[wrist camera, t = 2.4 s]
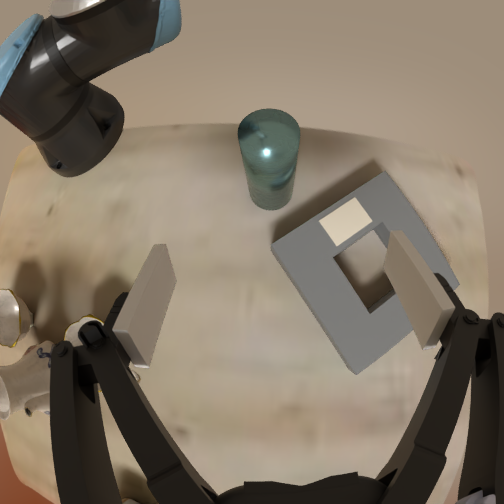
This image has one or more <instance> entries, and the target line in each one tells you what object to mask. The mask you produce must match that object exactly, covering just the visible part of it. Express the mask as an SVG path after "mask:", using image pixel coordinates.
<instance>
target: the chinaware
mask: <svg viewBox="0 0 504 504" xmlns="http://www.w3.org/2000/svg"><path fill="white" fill-rule="evenodd" d="M91 320H97V321H100V322H101V324H102V325H104V322H103V321H101V320H100V319H99V318H97V317H95V316H94V315H91V314H89V315H87V316H83V317H82V318H81V319H80V320H79V321H80V322H79V321H77V322H74V323H72V324H70V325H69V327H68V328H67V329H66V330H65V336H64V341H65V340H67V341H70V342H71V343H72V345H73V346H74V347H75V346H80V345H83V344H82V342H81V341H80V340H79V338H78V331H79V329H80V327H81V326H82V325H83V324H85V323H86V322H88V321H91ZM32 326H34V325H33V313H31V312H30V311H29V310H28V307H27V306H26V304H25V303H24V301H23V300H22V299H20V298H19V297H18V296H16V295H15V293H14V292H13V291H12V290H10V289H0V344H1V345H2V346H8V347H10V348H12V347H15V346H16V344H17V342H18V341H20V340H22V339H23V338H24V337H25V336H26V335H27V333H28V331H29V329H30V328H31V327H32ZM54 346H55V344H54V343H52V342H51V341H45V342H43V343H41V344H38V345H34V346H31V347H29V348H28V349H27V351H26V352H25V354H24V355H23V357H22V358H21V359H20V360H19V361H17V362H16V363H14V364H12V365H8V366H0V419H3V420H6V419H8V417H9V416H10V415H11V414H13V413H14V412H17V411H20V410H25V413H26V414H27V415H28V416H29V417H31V416H32V413H33V412H34V411H40V412H43V413H45V414H47V415H49V416H50V366H51V353H52V349H53V348H54ZM131 371H132V373H133V375H134V376H135V377H136V378H137V380H138V381H137V382H138V384H139V383H140V380H141V379H140V376H139V375H138V374H137V373H136V372H135V371H133V370H131ZM97 384H98V392H101V391H102V390H101V388H100V385H99V383H97Z"/></svg>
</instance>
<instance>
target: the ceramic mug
mask: <svg viewBox="0 0 504 504" xmlns="http://www.w3.org/2000/svg"><path fill="white" fill-rule="evenodd" d="M122 503H123V504H140V503H138V502H136V501H134V500H132V499H129V498H124V499H122Z"/></svg>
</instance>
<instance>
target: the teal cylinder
mask: <svg viewBox="0 0 504 504" xmlns="http://www.w3.org/2000/svg"><path fill="white" fill-rule="evenodd" d="M238 140H239V144H240V149H241V154H242V159H243V163H244V168H245V173H246V178H247V182H248V187H249V192H250V196H251V199H252V201H253V202H254V203H255V204H256V205H257V206H258V207H260V208H262V209H265V210H277V209H280V208H282V207H284V206H285V205H286V204H287V203H288V202H289V201H290V199H291V196H292V191H293V184H294V177H295V170H296V163H297V156H298V148H299V141H300V128H299V125H298V123H297V122H296V120H295V119H294V118H293V117H292V116H290V115H289V114H287V113H286V112H283V111H281V110H277V109H261V110H257V111H255V112H252V113H251V114H249V115H248V116H246V117H245V118H244V119H243V120H242V122H241V123H240V125H239V128H238Z"/></svg>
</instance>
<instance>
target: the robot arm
mask: <svg viewBox="0 0 504 504" xmlns="http://www.w3.org/2000/svg"><path fill="white" fill-rule="evenodd" d="M49 12H50V14H51V16H49V17H48V18H47V19H43V18H44V17H43V16H42V15H39V14H34V15H32V16H31V17H30V18H28V19H27V20H25V21H24V22H23V23H22V24H21V25H20V26H19V27H17V28H16V30H14V31H13V33H12V34H11V35H10V36H9V37H8V38H7V39H6V40H5V41H4V43H3V44H2V45H1V46H0V115H2V116H3V117H4V118H5V119H7V120H8V121H9V122H10V123H12V124H13V125H14V126H15V127H17V128H18V129H19V130H20V131H22V132H23V133H24V134H25V135H27V136H28V137H29V138H31V139H32V140H33V141H34V142H35V143H36V145H37V147H38V149H39V151H40V153H41V154H42V156H43V158H44V160H45V161H46V163H47V165H48V166H49V167H50V168H51V169H52V170H53V171H55V172H56V173H57V174H59V175H61V176H63V177H74V176H78V175H80V174H83V173H85V172H87V171H88V170H90V169H91V168H93V167H94V166H96V165H97V164H98V163H99V162H100V161H101V160H102V159H103V158H104V157H105V156H106V155H107V154H108V153H109V152H110V150H111V149H112V148H113V146H114V145H115V143H116V141H117V140H118V138H119V136H120V134H121V131H122V128H123V125H124V111H123V108H122V106H121V105H120V104H119V102H118V101H117V99H116V98H115V97H114V96H113V95H111V94H109V93H108V92H106V91H104V90H102V89H100V88H98V87H97V86H95V85H93V84H91V83H89V81H91V80H92V79H94V78H96V77H98V76H100V75H101V74H103V73H105V72H107V71H109V70H111V69H113V68H115V67H117V66H119V65H121V64H123V63H125V62H128V61H130V60H132V59H134V58H136V57H139V56H141V55H143V54H146V53H150V52H151V51H153V50H154V49H155V48H158V47H160V46H162V45H164V44H166V43H169V42H171V41H172V40H174V39H175V38H176V37H177V36H178V35H179V32H180V30H181V9H180V2H179V0H52V1H51V3H50V6H49ZM383 269H384V271H385V273H386V275H387V277H388V278H389V280H390V282H391V284H392V286H393V288H394V290H395V292H396V294H397V296H398V298H399V300H400V302H401V304H402V306H403V308H404V310H405V312H406V314H407V316H408V319H409V321H410V323H411V325H412V327H413V329H414V332H415V334H416V336H417V338H418V341H419V343H420V345H421V347H422V350H426V349H430V348H435V347H436V345H437V343H438V341H439V339H440V342H441V344H442V346H441V348H440V350H439V352H438V353H437V355H436V357H435V358H434V359H436V362H435V365H434V367H433V370H432V373H431V375H430V378H429V380H428V383H427V385H426V388H425V390H424V393H423V395H422V397H421V400H420V402H419V404H418V406H417V409H416V411H415V413H414V415H413V417H412V419H411V421H410V423H409V425H408V427H407V429H406V431H405V433H404V435H403V437H402V439H401V441H400V443H399V444H398V446H397V448H396V450H395V452H394V453H393V455H392V457H391V458H390V460H389V462H388V463H387V464H386V466H385V467H384V468H383V469H382V470H381V472H380V473H379V474H378V476H377V477H376V479H373V478H369V477H364V476H358V472H353V473H347V474H342V475H335V476H330V477H327V478H324V479H322V480H319V481H316V482H313V483H310V484H307V485H304V486H298V485H291V484H285V483H279V482H273V481H265V482H244V485H243V486H239V487H235V488H232V489H230V490H228V491H226V492H224V493H222V494H220V495H219V496H218V495H217V493H216V492H215V491H214V490H213V489H212V488H211V487H210V485H209V484H208V483H207V482H206V481H205V480H204V479H203V478H202V477H201V476H200V475H199V473H198V472H197V471H196V470H195V468H194V467H193V466H192V465H191V463H190V462H189V461H188V459H187V458H186V457H185V455H184V454H183V453H182V451H181V450H180V448H179V447H178V446H177V444H176V443H175V441H174V440H173V438H172V437H171V436H170V434H169V433H168V431H167V430H166V428H165V427H164V425H163V424H162V422H161V421H160V419H159V417H158V416H157V414H156V413H155V411H154V409H153V408H152V406H151V405H150V403H149V401H148V400H147V398H146V396H145V395H144V393H143V391H142V389H141V388H140V386H139V384H138V382H137V380H136V379H135V377H134V375H133V373H132V371H131V369H130V368H129V367H128V366H129V363H130V360H131V361H132V363H133V364H134V366H135V367H143V368H149V366H150V363H151V359H152V356H153V353H154V349H155V346H156V343H157V340H158V336H159V333H160V330H161V327H162V324H163V320H164V317H165V314H166V311H167V308H168V305H169V302H170V299H171V296H172V293H173V290H174V287H175V284H176V282H177V280H176V277H175V274H174V270H173V267H172V263H171V260H170V256H169V253H168V249H167V246H166V244H158V245H154V246H153V248H152V250H151V252H150V253H149V255H148V257H147V259H146V261H145V263H144V265H143V267H142V269H141V271H140V272H139V274H138V276H137V278H136V280H135V282H134V284H133V286H132V288H131V290H130V292H123V293H122V294H121V295H120V296H119V297H118V298H117V299H116V301H115V303H114V305H113V308H111V310H110V313H109V315H108V317H107V319H106V321H105V323H104V325H102V324H101V322H100V321H97V320H91V321H88V322H86V323H85V324H83V325H82V326H81V327H80V329H79V331H78V338H79V340H80V341H81V342H82V344H83V345H80V346H75V347H74V346H73V345H72V343H71V342H70V341H67V340H65V341H61V342H59V343H57V344H56V345H55V346H54V348H53V349H52V353H51V366H50V427H51V442H52V452H53V461H54V468H55V475H56V481H57V487H58V492H59V497H60V502H61V504H123V503H122V500H121V497H120V494H119V490H118V487H117V483H116V480H115V476H114V472H113V468H112V464H111V460H110V456H109V451H108V447H107V442H106V437H105V432H104V426H103V420H102V414H101V407H100V400H99V393H98V384H97V383H99V385H100V388H101V390H102V393H103V395H104V397H105V400H106V402H107V404H108V406H109V408H110V411H111V413H112V415H113V417H114V419H115V421H116V423H117V425H118V427H119V429H120V431H121V433H122V435H123V437H124V439H125V441H126V443H127V445H128V447H129V448H130V450H131V452H132V454H133V456H134V457H135V459H136V461H137V462H138V464H139V466H140V467H141V469H142V471H143V472H144V474H145V476H146V478H147V485H148V487H149V489H150V491H151V492H152V494H153V495H154V497H155V498H156V500H157V501H158V503H159V504H426V502H427V500H428V498H429V496H430V495H431V493H432V491H433V489H434V487H435V485H436V483H437V481H438V479H439V477H440V475H441V473H442V471H443V469H444V466H445V464H446V459H447V457H446V456H445V452H446V449H447V446H448V444H449V442H450V439H451V436H452V434H453V431H454V429H455V426H456V423H457V420H458V417H459V414H460V411H461V408H462V405H463V402H464V398H465V395H466V391H467V388H468V384H469V380H470V376H471V405H470V419H469V429H468V437H467V445H466V452H465V458H464V463H463V469H462V474H461V479H460V484H459V491H458V501H457V502H456V503H455V504H504V314H502V313H495V314H493V316H492V318H491V320H488V319H480V318H479V316H478V315H477V314H476V313H475V312H474V311H472V310H469V309H465V307H464V306H463V304H462V303H461V301H460V300H459V298H458V297H457V295H456V293H455V292H453V289H452V287H451V286H450V285H449V283H448V282H447V280H446V279H445V278H444V277H443V276H442V275H440V274H439V273H433V272H432V271H431V269H430V268H429V266H428V265H427V264H426V262H425V261H424V259H423V258H422V257H421V255H420V254H419V253H418V251H417V250H416V248H415V247H414V246H413V244H412V243H411V242H410V240H409V239H408V238H407V237H406V235H405V234H404V233H403V231H402V230H396V231H391V232H390V237H389V243H388V248H387V253H386V258H385V263H384V267H383Z"/></svg>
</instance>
